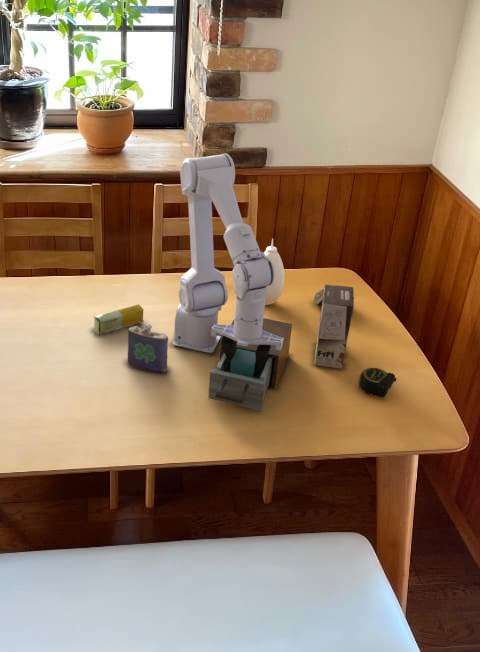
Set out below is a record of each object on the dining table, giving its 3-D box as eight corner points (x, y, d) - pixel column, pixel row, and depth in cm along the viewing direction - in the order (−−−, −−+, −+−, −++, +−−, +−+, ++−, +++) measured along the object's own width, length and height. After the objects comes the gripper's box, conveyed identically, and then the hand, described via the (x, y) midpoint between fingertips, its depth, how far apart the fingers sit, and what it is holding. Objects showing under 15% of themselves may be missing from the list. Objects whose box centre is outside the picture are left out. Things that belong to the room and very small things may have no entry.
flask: (168, 368, 176) (169, 327, 170) (163, 375, 174) (164, 334, 168) (130, 358, 179) (130, 318, 173) (125, 365, 176) (124, 324, 170)
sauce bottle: (283, 311, 197) (291, 245, 187) (251, 310, 197) (257, 244, 187) (279, 295, 204) (287, 231, 194) (249, 294, 204) (255, 230, 194)
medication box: (98, 335, 186) (98, 322, 184) (93, 329, 188) (93, 315, 185) (143, 322, 191) (144, 308, 189) (138, 316, 193) (138, 302, 190)
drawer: (254, 427, 158) (257, 400, 154) (199, 414, 161) (201, 387, 157) (275, 377, 172) (278, 351, 169) (224, 366, 175) (226, 340, 172)
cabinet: (274, 389, 170) (278, 355, 166) (218, 376, 174) (220, 343, 169) (288, 355, 181) (292, 323, 176) (234, 344, 184) (237, 312, 180)
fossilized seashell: (362, 304, 196) (335, 292, 204) (352, 285, 192) (325, 274, 200) (340, 325, 195) (315, 312, 203) (330, 306, 191) (304, 294, 200)
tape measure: (383, 403, 167) (386, 388, 165) (352, 391, 170) (355, 377, 168) (394, 387, 172) (398, 373, 170) (364, 376, 175) (367, 362, 173)
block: (251, 384, 164) (253, 365, 162) (229, 379, 166) (230, 360, 163) (257, 372, 168) (259, 353, 165) (235, 367, 169) (237, 348, 167)
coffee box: (342, 369, 177) (354, 307, 168) (313, 365, 178) (323, 303, 169) (343, 347, 184) (354, 286, 175) (315, 343, 185) (324, 282, 176)
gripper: (208, 317, 157) (204, 373, 165) (280, 331, 153) (273, 388, 161) (218, 300, 163) (214, 355, 170) (288, 313, 159) (281, 369, 167)
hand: (243, 370), depth 166 cm, fingers closed on block, 5 cm apart
